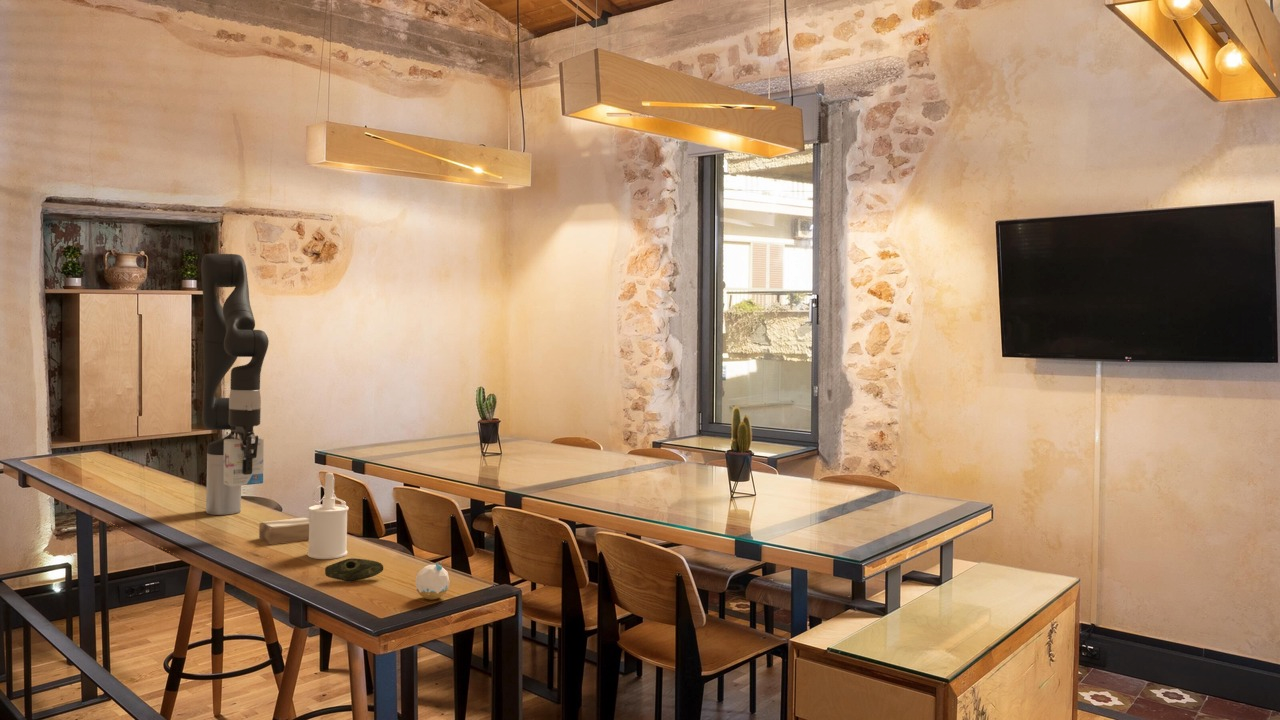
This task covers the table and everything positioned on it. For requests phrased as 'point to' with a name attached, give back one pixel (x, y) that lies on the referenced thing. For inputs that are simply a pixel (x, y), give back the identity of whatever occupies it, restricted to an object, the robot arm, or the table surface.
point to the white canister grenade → (328, 524)
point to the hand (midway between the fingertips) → (243, 472)
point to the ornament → (432, 581)
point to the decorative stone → (353, 569)
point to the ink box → (241, 464)
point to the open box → (284, 530)
